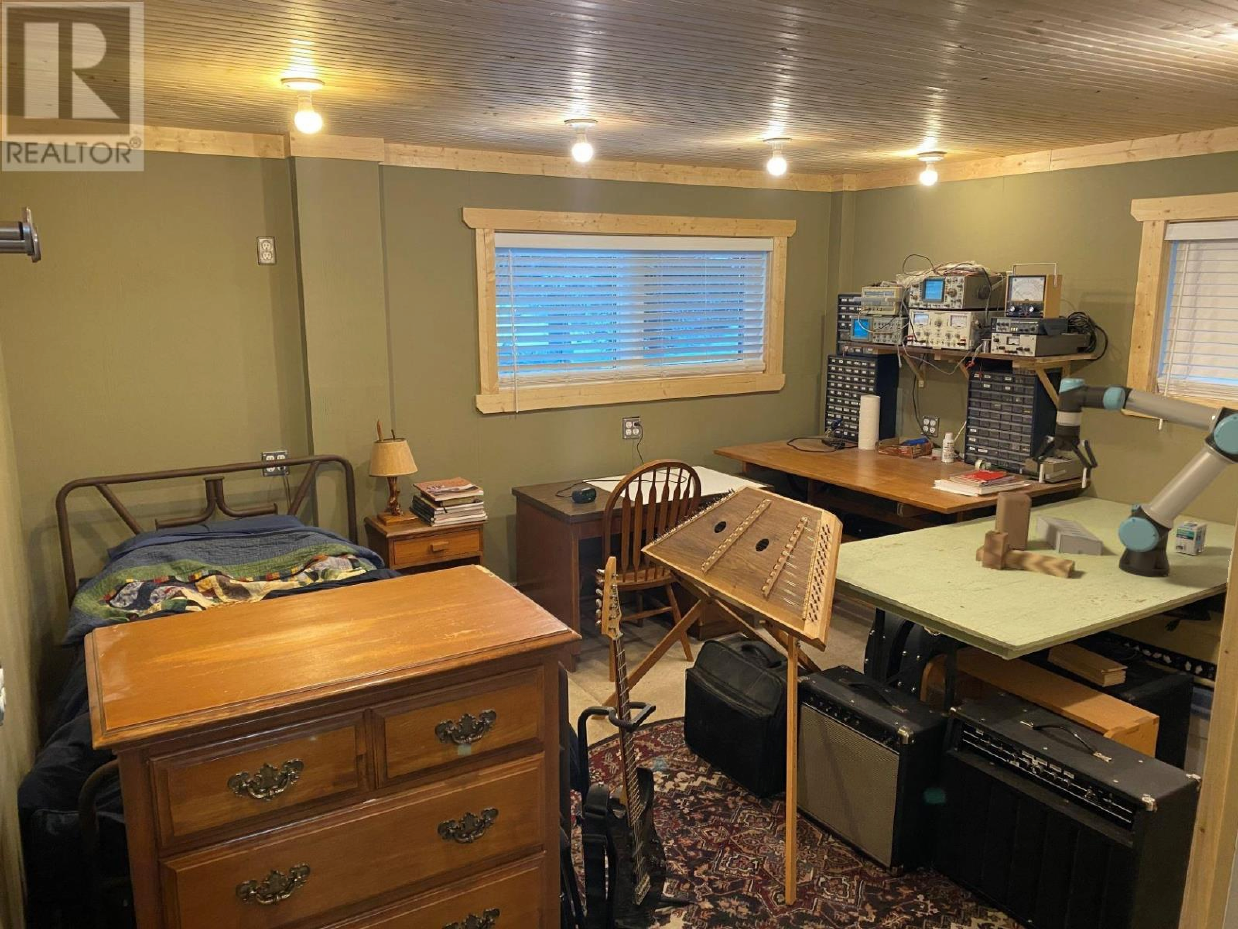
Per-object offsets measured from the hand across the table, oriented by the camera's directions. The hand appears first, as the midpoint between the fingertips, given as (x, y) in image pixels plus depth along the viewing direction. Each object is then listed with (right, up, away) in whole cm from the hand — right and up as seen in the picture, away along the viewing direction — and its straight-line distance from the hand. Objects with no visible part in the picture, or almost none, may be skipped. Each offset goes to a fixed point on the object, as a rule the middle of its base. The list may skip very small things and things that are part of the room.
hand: (1062, 484), depth 303 cm
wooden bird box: (-21, -28, +4) cm, 35 cm away
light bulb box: (+59, -26, +22) cm, 68 cm away
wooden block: (-7, -24, +26) cm, 36 cm away
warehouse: (+18, -24, +31) cm, 43 cm away
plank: (-13, -28, +2) cm, 31 cm away
